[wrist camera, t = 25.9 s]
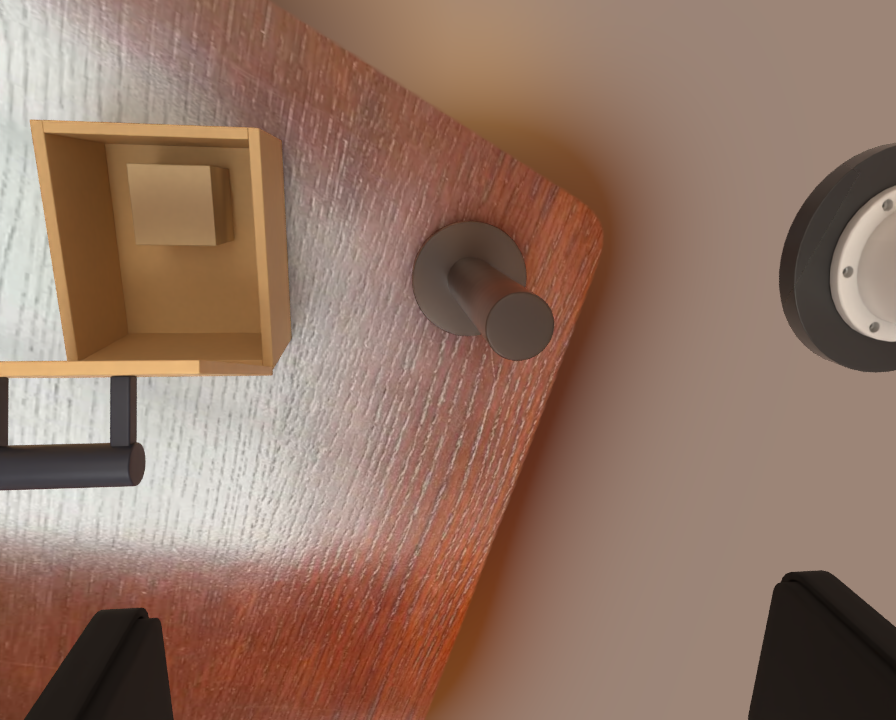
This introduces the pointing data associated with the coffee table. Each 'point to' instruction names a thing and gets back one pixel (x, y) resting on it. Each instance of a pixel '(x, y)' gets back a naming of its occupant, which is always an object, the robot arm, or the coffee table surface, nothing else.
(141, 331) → the carton
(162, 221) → the block
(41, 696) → the robot arm
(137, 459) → the carton flap
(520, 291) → the stand
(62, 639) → the coffee table surface
